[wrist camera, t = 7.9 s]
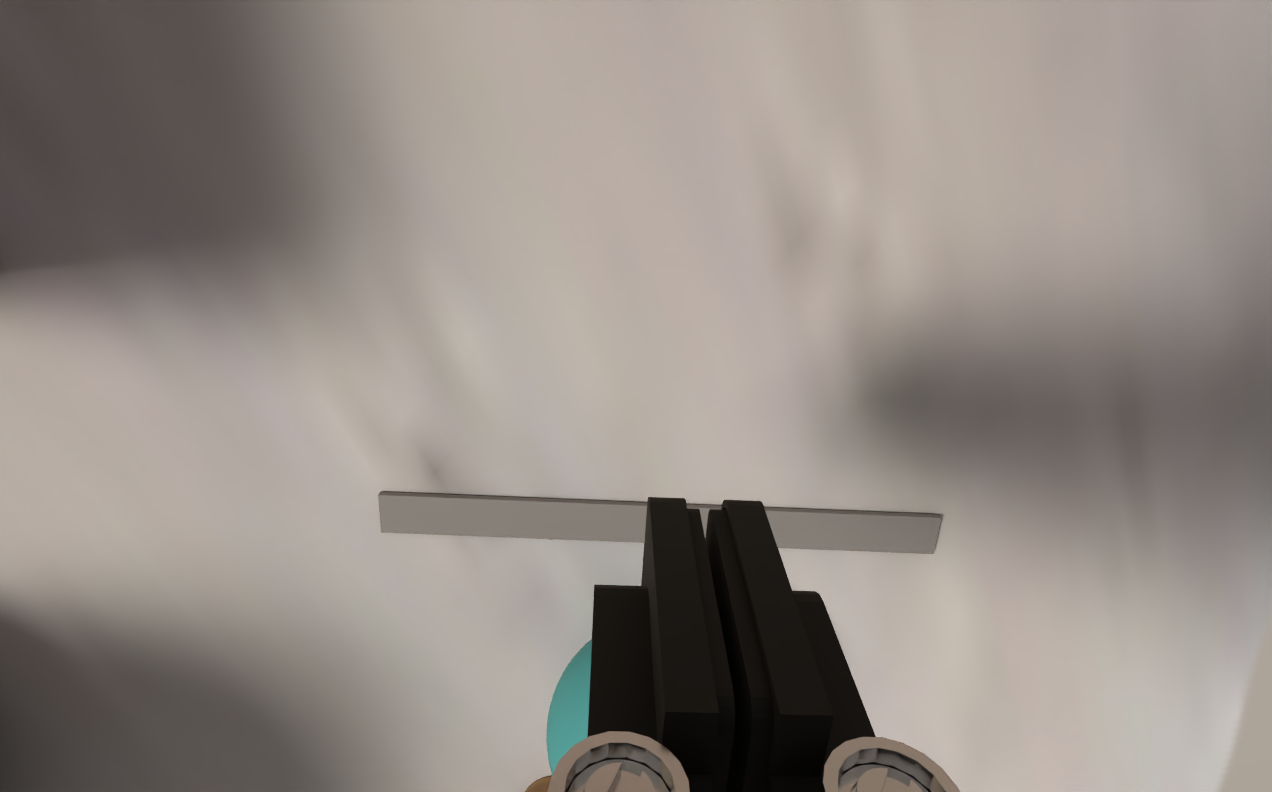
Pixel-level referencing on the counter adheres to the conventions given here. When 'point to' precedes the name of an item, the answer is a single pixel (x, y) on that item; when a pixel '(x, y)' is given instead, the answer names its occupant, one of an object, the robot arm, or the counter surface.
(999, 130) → the counter surface
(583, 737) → the ball
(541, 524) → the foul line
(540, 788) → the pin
